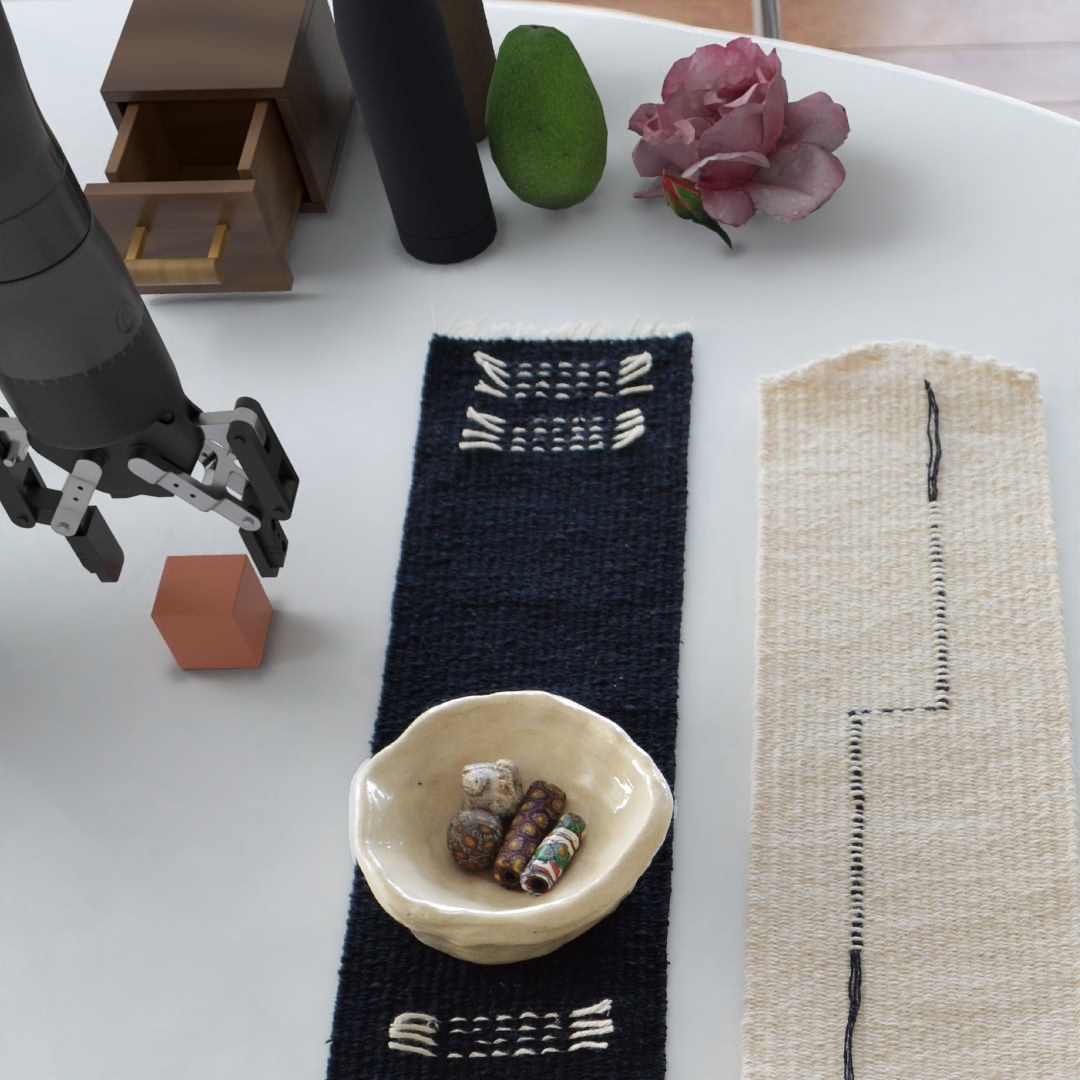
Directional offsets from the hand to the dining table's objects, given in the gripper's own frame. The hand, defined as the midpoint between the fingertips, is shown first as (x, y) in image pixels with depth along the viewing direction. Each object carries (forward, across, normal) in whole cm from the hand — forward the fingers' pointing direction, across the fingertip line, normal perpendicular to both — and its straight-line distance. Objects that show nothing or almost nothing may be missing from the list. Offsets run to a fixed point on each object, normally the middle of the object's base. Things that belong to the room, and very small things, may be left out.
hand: (193, 568), depth 94 cm
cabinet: (+6, +7, -45) cm, 46 cm away
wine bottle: (+6, -8, -36) cm, 37 cm away
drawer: (+5, +7, -33) cm, 34 cm away
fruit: (+6, -15, -39) cm, 42 cm away
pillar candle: (+6, -5, -49) cm, 49 cm away
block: (+6, 0, 0) cm, 6 cm away
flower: (+6, -27, -38) cm, 47 cm away
